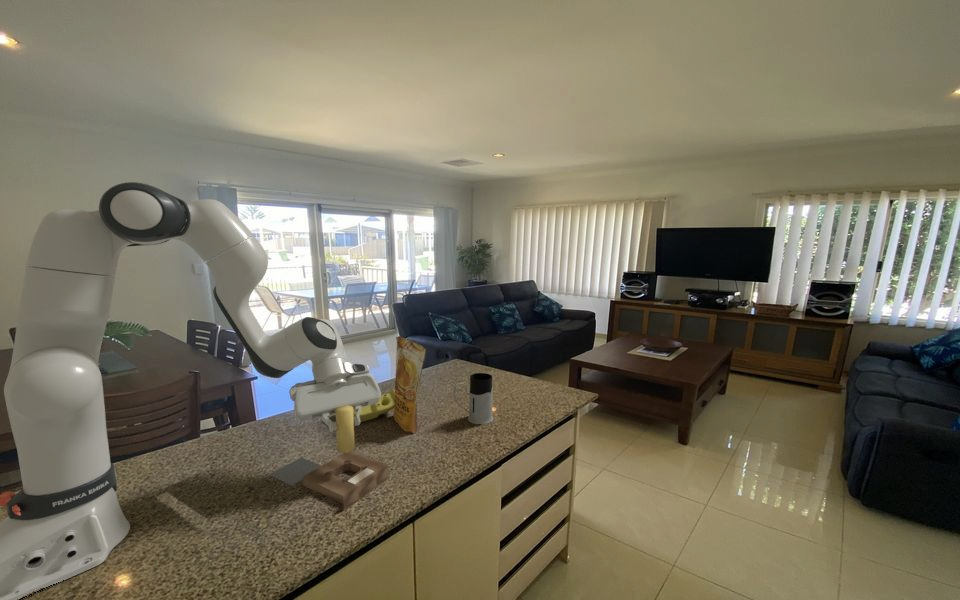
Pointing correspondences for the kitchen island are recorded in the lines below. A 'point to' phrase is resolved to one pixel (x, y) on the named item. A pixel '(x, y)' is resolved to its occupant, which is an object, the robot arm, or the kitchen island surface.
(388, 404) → the plastic component
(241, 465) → the kitchen island surface
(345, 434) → the peg
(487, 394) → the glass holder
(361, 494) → the hole block
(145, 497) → the kitchen island surface
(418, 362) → the pancake mix bag
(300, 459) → the plate
